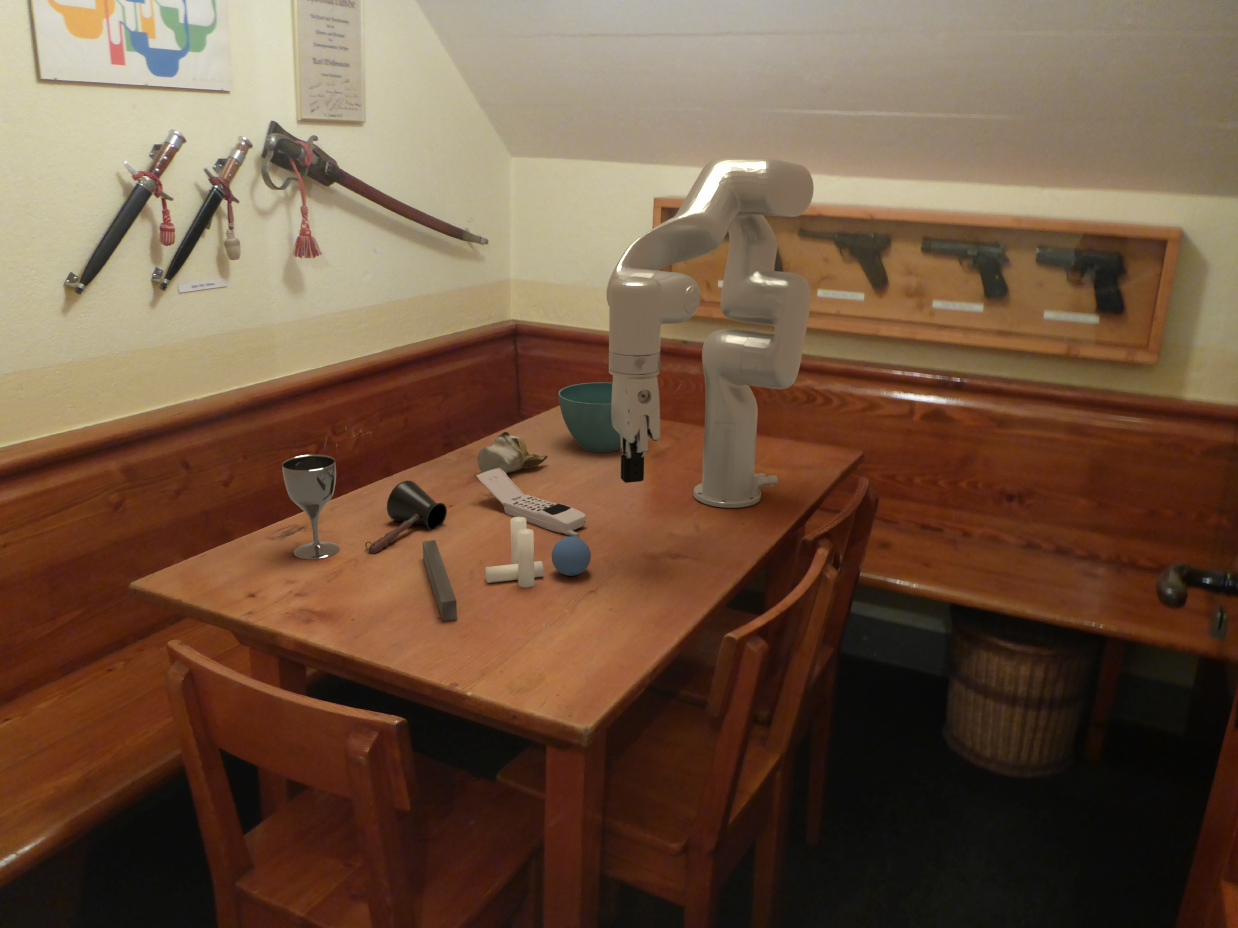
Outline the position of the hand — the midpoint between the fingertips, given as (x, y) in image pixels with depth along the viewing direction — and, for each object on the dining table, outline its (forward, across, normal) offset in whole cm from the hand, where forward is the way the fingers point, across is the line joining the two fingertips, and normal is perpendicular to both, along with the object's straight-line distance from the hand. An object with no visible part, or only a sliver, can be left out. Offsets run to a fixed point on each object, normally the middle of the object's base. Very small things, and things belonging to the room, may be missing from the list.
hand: (632, 480), depth 150 cm
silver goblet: (+14, +19, +47) cm, 53 cm away
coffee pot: (+15, +23, +34) cm, 44 cm away
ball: (+11, -1, +10) cm, 15 cm away
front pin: (+13, 0, +14) cm, 19 cm away
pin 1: (+14, +2, +17) cm, 22 cm away
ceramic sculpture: (+14, +50, +10) cm, 52 cm away
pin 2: (+14, -2, +17) cm, 22 cm away
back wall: (+14, 0, +30) cm, 33 cm away
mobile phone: (+15, +24, +10) cm, 30 cm away
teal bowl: (+14, +60, -13) cm, 63 cm away
